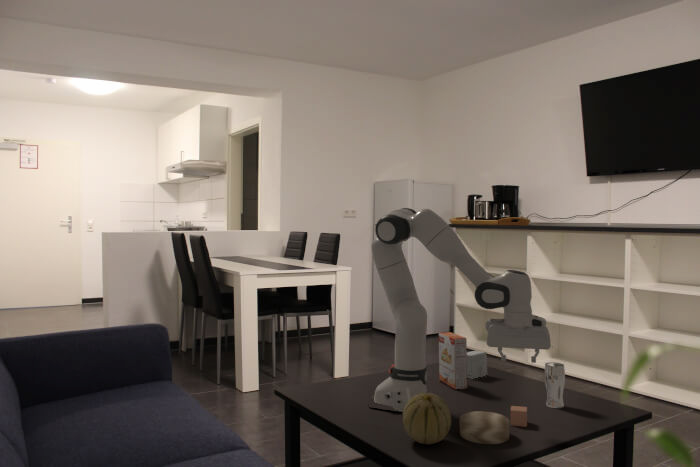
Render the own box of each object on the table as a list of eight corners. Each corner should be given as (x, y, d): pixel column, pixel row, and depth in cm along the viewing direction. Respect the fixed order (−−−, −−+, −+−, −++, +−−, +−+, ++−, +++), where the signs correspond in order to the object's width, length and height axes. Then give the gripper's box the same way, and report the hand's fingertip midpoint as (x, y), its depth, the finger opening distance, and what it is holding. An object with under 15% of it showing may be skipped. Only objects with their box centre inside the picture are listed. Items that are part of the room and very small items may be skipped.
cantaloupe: (432, 430, 178) (431, 383, 178) (462, 445, 165) (461, 395, 165) (393, 439, 171) (392, 390, 171) (421, 455, 158) (420, 402, 158)
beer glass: (552, 409, 197) (552, 367, 197) (540, 403, 204) (540, 363, 204) (569, 407, 199) (569, 365, 199) (557, 402, 206) (556, 361, 206)
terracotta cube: (510, 425, 182) (510, 410, 182) (511, 420, 186) (511, 405, 186) (526, 427, 180) (526, 411, 180) (527, 422, 185) (526, 407, 185)
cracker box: (438, 381, 236) (437, 332, 236) (451, 380, 237) (450, 331, 237) (454, 390, 222) (453, 338, 222) (467, 389, 224) (467, 337, 224)
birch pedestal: (456, 441, 168) (456, 424, 168) (462, 424, 183) (462, 409, 183) (508, 446, 164) (508, 429, 164) (510, 429, 178) (510, 413, 178)
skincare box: (475, 373, 250) (475, 349, 250) (487, 376, 244) (487, 352, 244) (460, 377, 243) (460, 353, 243) (472, 380, 238) (471, 355, 238)
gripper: (484, 319, 184) (485, 361, 184) (550, 322, 177) (551, 365, 177) (486, 317, 190) (486, 357, 190) (550, 319, 183) (550, 361, 183)
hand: (518, 361), depth 183 cm, fingers open, 8 cm apart
